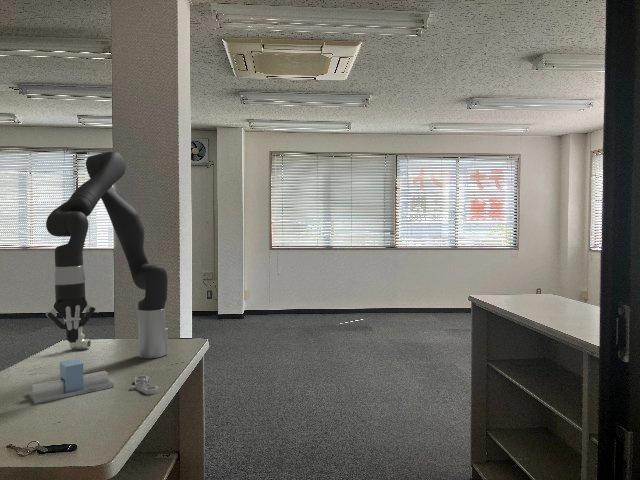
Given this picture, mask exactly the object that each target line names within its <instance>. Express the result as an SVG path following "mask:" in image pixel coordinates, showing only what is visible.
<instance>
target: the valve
mask: <svg viewBox="0 0 640 480" xmlns="http://www.w3.org/2000/svg"><path fill="white" fill-rule="evenodd" d="M81 318H82V317H79V321H80V319H81ZM71 320H72V319H71ZM89 321H90V319H89V320H88V321H87V322H89ZM71 324H72V321H71ZM83 328H84V327H83V326H81V327H79V328H78V340H76V342H74V343H69V348H70V349H71V350H83V349H84V350H89V349H90V348H91V345H92V341H91V339H89V338H85V334H84V333H83V331H84V329H83Z"/></svg>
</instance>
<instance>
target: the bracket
mask: <svg viewBox="0 0 640 480" xmlns="http://www.w3.org/2000/svg"><path fill="white" fill-rule="evenodd" d="M149 382H150V377H149V376H147V375H144V374H143V375H138V376H137V375H136V376H135V377H134V385H130V389H131V390H132V391H135V390H136V391H139V392H142V393H143V394H144V395H147V396H148V395H155V394H157V393H158V390H159V388H158V385H152V384H150V383H149Z"/></svg>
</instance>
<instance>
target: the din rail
mask: <svg viewBox="0 0 640 480" xmlns="http://www.w3.org/2000/svg"><path fill="white" fill-rule="evenodd" d="M83 381H84V388H82V389H77V390H73V391H68V392H66V391H65V380H64V379H60V378H59V379H55V380H49V381H44V382H38V383H34V384H31V389H30V390H27V396H28V397H29V398H30V400H31V401H32V402H33V404H34V405H39V404H41V403H42V404H43V403H47V402H51V401H55V400H60V399H64V398H69V397H74V396H79V395H83V394H88V393H92V392H93V393H94V392H98V391H102V390H107V389H112V388H114V387H115V384H114V382H112V381H111V380H110V379H109V372H108V371H106V370H101V371H95V372H92V373H86V374H83Z"/></svg>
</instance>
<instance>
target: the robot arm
mask: <svg viewBox="0 0 640 480" xmlns="http://www.w3.org/2000/svg"><path fill="white" fill-rule="evenodd" d="M85 168H86V172H87V174H88V177H89V179H88V180H86V181H85V182H83V183H82V184H81V185H79V187H77V188H76V189H75V190H74V192H73V193H72V194H71V196H70V198H68V200H67V201H65V202H63V203H62V204H61V205H59V206H58V207H56V208H55V209H53V210H52V211H51V212H50V214H48V216H47V218H46V221H45V228H46V230H47V231H46V232H48V234H50V235H51V236H54V237H58V238H59V237H64V238H65V237H70V238H69V240H68V242H67V243H65V244H61V245H58V246H56V247H55V249H54V291H55V292H54V294H55V302H54V304H53V308H52V309H51V310H49V311H47V312H46V313H45V316H46V318H48V319H50V321H51V322H52V323H53V324H54V325H56V327H57V328H59V329H61V330H65V339H66V341H67V342H69V344H70V343H74V342H76V340H78V333H79V332H78V328H79V327H81V326H82V327H84V326H85V325H86V324H87V322H89V321H90V319H91V317H92V315H93V314H94V313H95V311H96V307H94V306H91V305H90V304H88V301H87V300H86V282H85V281H86V276H85V270H84V256H83V253H84V252H83V251H84V245H85V241H86V238H87V235H88V230H89V220H88V217H89V216H90V215H91V213H92V212H93V210H94V209H95V207H96V206H97V205H98V203H99V201H100V200H101V201H102V203H103V205H104V207H105V211H106V212H107V215H108V217H109V219H110V222H111V224H112V227H113V230H114V231H115V234H116V236H117V238H118V242H119V243H120V246H121V249H122V250H123V253H124V255H125V257H126V260H127V264H128V267H129V271H130V274H131V277H132V278H131V279H132V280H133V282H134V285H135V287H137V288H139V289H140V290H144V293H145V294H144V298H142V299H141V300H139V301H138V303H137V304H138V305H137V308H138V309H137V311H138V313H137V314H138V315H137V317H138V319H137V320H138V357H139V358H140V359H156V358H160V357H161V358H162V357H164V356H167V355H168V354H169V352H168V351H169V350H168V346H169V344H168V342H169V341H168V338H169V337H168V328H167V327H166V302H167V300H168V283H169V282H168V281H169V280H168V274H167V270H166V269H165V267H163V266H162V265H157V264H150V262H149V260H148V257H147V255H146V253H145V249H144V244H145V243H144V242H145V228H144V225H143V223H142V221H141V218H140V215H139V212H138V211H137V210H136V209H135V207H133V206H132V205H131V204H130V203H128V202H127V201H126V200H125V199H123V198H122V197H121V195H119V194H118V193H117V191H116V190H115V189H114V185H115V183H117V182H118V181H119V180H121V178H123V176H124V175H125V172H126V169H127V167H126V162H125V159H124V158H123V155H121V153H119V152H117V151H113V150H112V151H106V152H102V153H98V154H93V155H90V156H88V157H87V158H86V161H85ZM83 312H85V313H84V314H83V315H82V313H83ZM57 313H58V314H59V315H60V316H61V317H62V318H63V322H64V323H63V322H62V321H61V320H60V319H58V317H57V316H58V314H57ZM81 315H82V317H80V316H81ZM79 318H81V319H80V321H79ZM71 319H72V320H71ZM88 320H89V321H88ZM71 321H72V323H71Z"/></svg>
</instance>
